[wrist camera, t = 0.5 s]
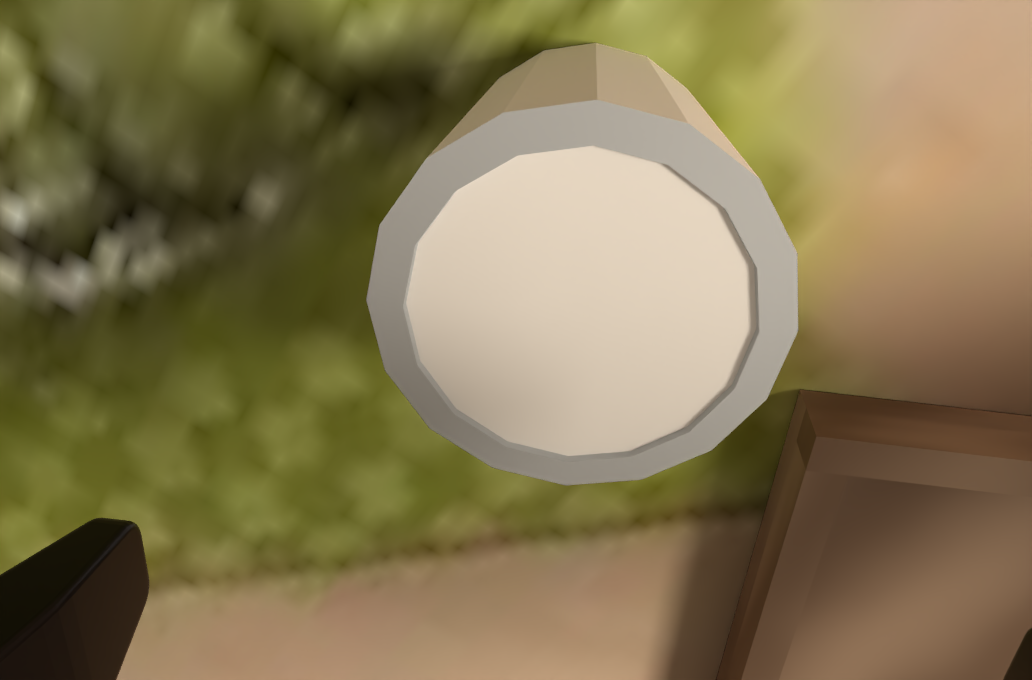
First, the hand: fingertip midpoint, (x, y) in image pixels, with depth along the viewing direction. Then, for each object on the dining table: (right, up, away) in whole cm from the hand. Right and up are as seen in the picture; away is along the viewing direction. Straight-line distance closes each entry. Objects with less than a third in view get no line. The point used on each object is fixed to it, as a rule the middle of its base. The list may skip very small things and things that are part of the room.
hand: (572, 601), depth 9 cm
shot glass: (+1, +7, +11) cm, 13 cm away
